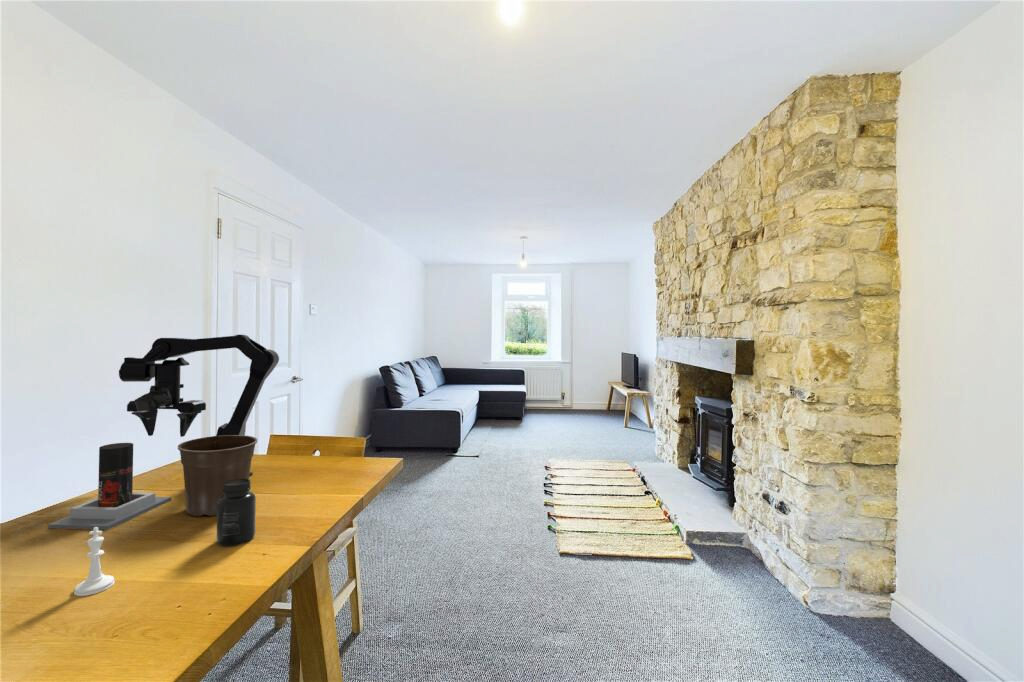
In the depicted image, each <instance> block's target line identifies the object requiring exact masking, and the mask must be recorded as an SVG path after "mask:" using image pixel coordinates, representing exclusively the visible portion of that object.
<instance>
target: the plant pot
mask: <svg viewBox="0 0 1024 682" xmlns="http://www.w3.org/2000/svg"><path fill="white" fill-rule="evenodd" d="M257 443H258V438H256V437H254V436H250V435H246V434H245V435H222V436H216V435H212V436H205V437H201V438H199V437H198V438H194V439H191V440H186V441H183V442H181V443H179V444H178V445H177V450H178V451H179V455H180V464H181V465H182V469H183V480H184V481H183V483H184V495H185V509H186V513H187V514H188V515H191V516H193V517H202V516H203V515H206V516H208V517H214V516H217V502H218V500H219V499H220V498H221V497H222V496H223V495H224V494H223V484H224V483H225V482H227V481H230V480H235V479H249V480H250V476H251V475H250V472H251V465H252V458H253V457H254V453H255V447H256V444H257ZM249 475H250V476H249Z"/></svg>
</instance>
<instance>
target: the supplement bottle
mask: <svg viewBox="0 0 1024 682" xmlns="http://www.w3.org/2000/svg"><path fill="white" fill-rule="evenodd" d="M223 494H224V495H223V496H222V497H221V498H220V499H219V500H218V502H217V515H216V543H217V544H218V545H220V546H221V547H222V546H223V547H233V546H238V545H242V544H245V543H247V542H250V541H251V540H252V539H254V537H255V535H256V514H257V513H256V510H257V509H256V508H257V507H256V505H257V502H256V501H257V499H256V498H257V497H256V494H255V493H254V492H252V491H251V480H250V478H249V479H235V480H230V481H227V482H225V483H224V484H223Z"/></svg>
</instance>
